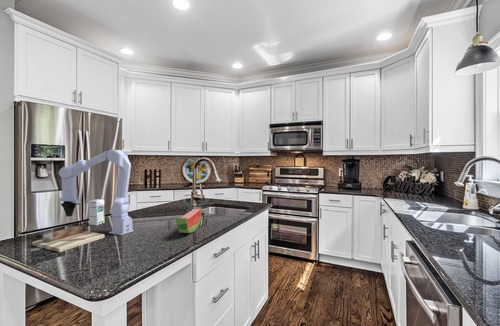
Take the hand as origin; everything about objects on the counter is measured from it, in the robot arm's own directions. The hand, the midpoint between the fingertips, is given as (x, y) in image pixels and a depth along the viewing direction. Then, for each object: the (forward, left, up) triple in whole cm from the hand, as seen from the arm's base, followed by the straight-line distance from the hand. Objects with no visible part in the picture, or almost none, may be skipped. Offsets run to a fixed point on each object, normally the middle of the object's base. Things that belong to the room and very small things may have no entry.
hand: (69, 216), depth 124 cm
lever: (-8, +6, -7) cm, 12 cm away
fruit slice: (-55, -29, -10) cm, 63 cm away
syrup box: (+5, -18, -10) cm, 21 cm away
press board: (-12, +7, -9) cm, 17 cm away
